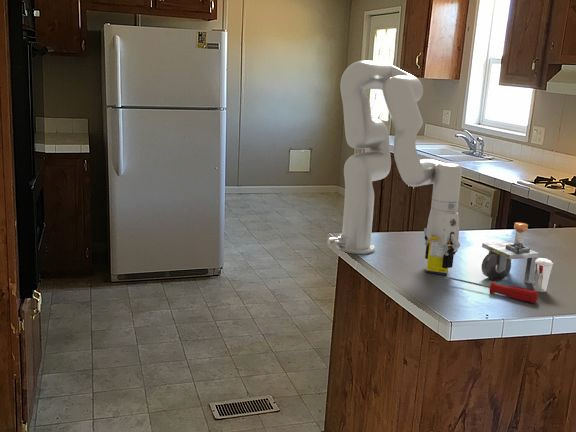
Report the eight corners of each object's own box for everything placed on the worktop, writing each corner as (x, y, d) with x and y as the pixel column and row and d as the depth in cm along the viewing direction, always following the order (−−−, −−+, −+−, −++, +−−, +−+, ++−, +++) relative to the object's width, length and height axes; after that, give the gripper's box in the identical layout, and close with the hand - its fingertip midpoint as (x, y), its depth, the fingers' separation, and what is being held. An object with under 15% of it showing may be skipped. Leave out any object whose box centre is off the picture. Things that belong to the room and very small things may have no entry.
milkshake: (550, 295, 164) (555, 260, 161) (529, 290, 166) (534, 256, 164) (552, 290, 168) (558, 256, 165) (532, 286, 170) (537, 252, 168)
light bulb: (516, 251, 170) (520, 226, 168) (508, 247, 173) (511, 222, 172) (527, 250, 171) (530, 225, 170) (518, 247, 174) (521, 222, 173)
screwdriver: (445, 281, 171) (446, 269, 170) (537, 301, 158) (539, 289, 158) (441, 284, 168) (442, 272, 167) (535, 305, 156) (537, 293, 155)
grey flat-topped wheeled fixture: (497, 287, 168) (501, 252, 165) (470, 273, 179) (474, 240, 176) (533, 283, 172) (539, 249, 170) (505, 270, 183) (510, 238, 181)
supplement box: (447, 269, 181) (452, 235, 178) (446, 275, 175) (450, 240, 173) (427, 267, 183) (431, 232, 180) (425, 272, 177) (429, 237, 174)
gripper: (474, 212, 168) (467, 271, 172) (438, 199, 183) (432, 253, 188) (451, 213, 165) (444, 273, 169) (417, 199, 181) (411, 255, 185)
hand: (438, 262), depth 178 cm, fingers closed on supplement box, 8 cm apart
